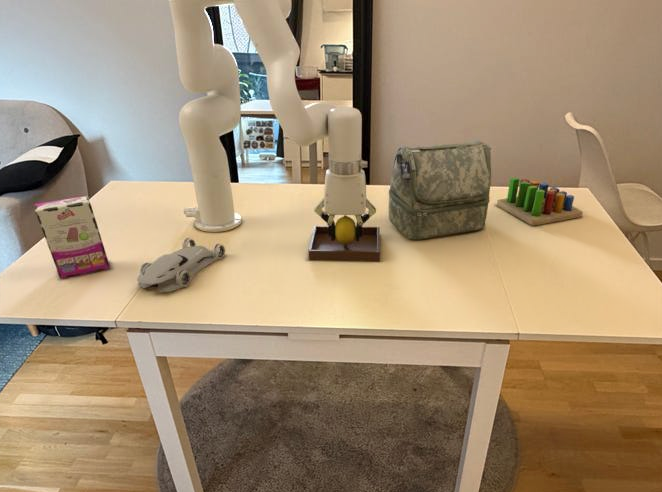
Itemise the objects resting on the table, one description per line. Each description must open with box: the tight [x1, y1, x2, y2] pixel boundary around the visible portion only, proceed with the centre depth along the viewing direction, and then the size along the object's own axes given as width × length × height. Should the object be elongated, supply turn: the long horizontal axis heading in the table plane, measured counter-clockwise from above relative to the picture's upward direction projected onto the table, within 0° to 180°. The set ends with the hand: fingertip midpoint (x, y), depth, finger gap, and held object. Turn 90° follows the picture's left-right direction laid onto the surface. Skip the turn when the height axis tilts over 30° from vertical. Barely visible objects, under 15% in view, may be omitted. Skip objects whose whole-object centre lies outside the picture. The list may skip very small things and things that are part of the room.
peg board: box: [496, 176, 584, 226], centre depth 156 cm, size 18×17×9 cm
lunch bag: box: [387, 140, 492, 240], centre depth 143 cm, size 26×18×22 cm
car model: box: [136, 237, 226, 293], centre depth 126 cm, size 11×24×5 cm, turn 158°
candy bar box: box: [34, 195, 111, 280], centre depth 123 cm, size 11×5×16 cm, turn 118°
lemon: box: [334, 215, 356, 246], centre depth 136 cm, size 6×6×8 cm
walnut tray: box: [308, 225, 381, 263], centre depth 138 cm, size 17×15×2 cm
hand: (345, 238), depth 137 cm, fingers closed on lemon, 5 cm apart
